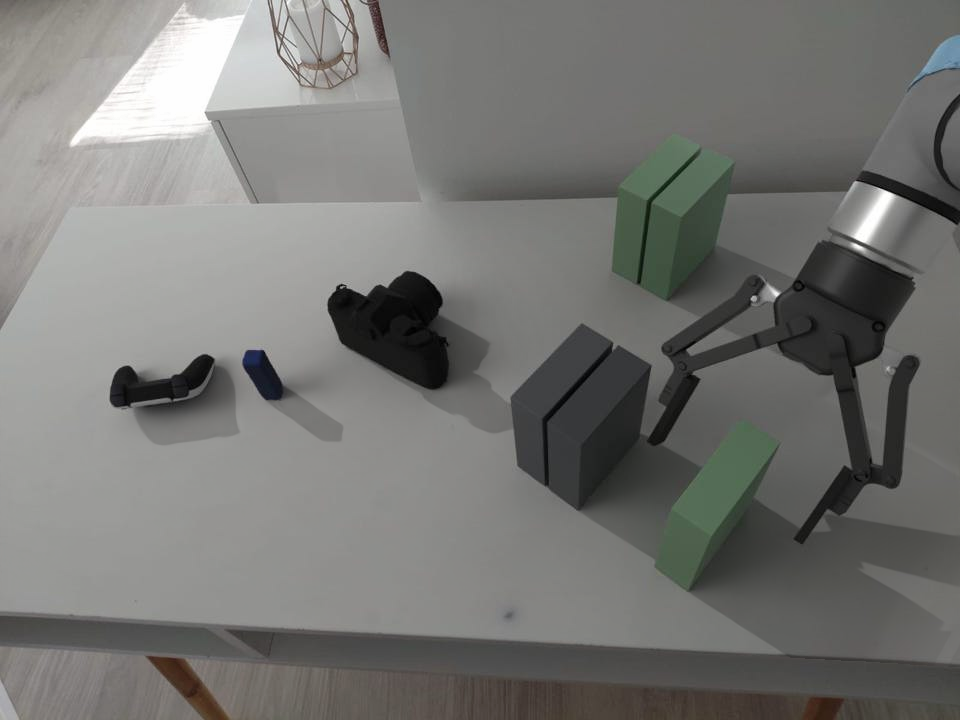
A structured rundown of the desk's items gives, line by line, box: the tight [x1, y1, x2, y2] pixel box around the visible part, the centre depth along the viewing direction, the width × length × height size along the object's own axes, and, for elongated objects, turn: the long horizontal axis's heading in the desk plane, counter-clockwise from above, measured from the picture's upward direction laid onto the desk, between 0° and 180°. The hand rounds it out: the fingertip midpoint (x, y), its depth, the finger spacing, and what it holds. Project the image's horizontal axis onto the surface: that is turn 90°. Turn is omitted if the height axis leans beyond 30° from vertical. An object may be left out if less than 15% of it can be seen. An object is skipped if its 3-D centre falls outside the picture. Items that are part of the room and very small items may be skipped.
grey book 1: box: [509, 322, 614, 487], centre depth 71 cm, size 4×10×13 cm, turn 138°
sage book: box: [653, 418, 782, 592], centre depth 64 cm, size 4×10×13 cm, turn 138°
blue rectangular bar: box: [241, 349, 284, 401], centre depth 80 cm, size 2×2×7 cm
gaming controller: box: [109, 353, 216, 410], centre depth 82 cm, size 11×4×7 cm
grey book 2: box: [547, 345, 653, 511], centre depth 69 cm, size 4×10×13 cm, turn 138°
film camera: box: [326, 270, 450, 390], centre depth 81 cm, size 15×10×9 cm, turn 56°
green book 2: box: [640, 148, 736, 301], centre depth 82 cm, size 4×10×13 cm, turn 139°
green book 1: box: [611, 133, 703, 285], centre depth 84 cm, size 4×10×13 cm, turn 139°
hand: (724, 488), depth 63 cm, fingers open, 13 cm apart
